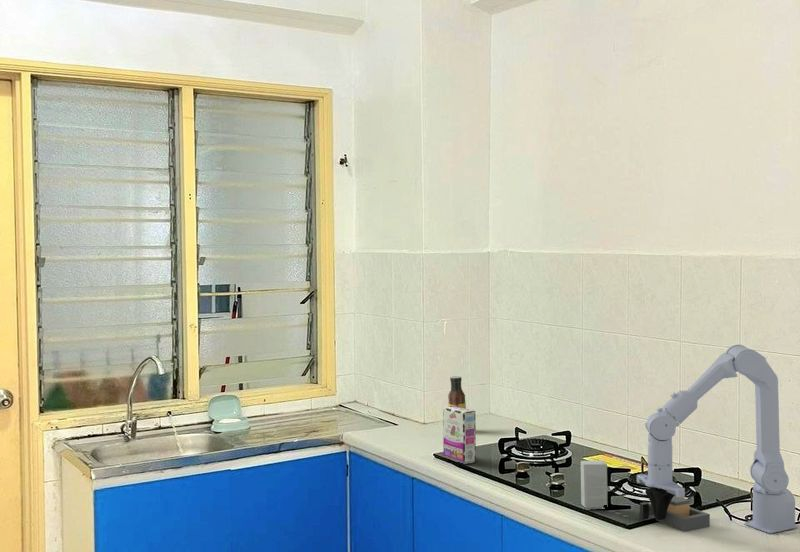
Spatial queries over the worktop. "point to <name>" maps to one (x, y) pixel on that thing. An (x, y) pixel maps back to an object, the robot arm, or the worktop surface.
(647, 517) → the clip
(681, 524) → the socket
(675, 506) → the plug
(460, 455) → the candy bar box
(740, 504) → the worktop surface
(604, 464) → the skincare box
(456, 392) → the sauce bottle
